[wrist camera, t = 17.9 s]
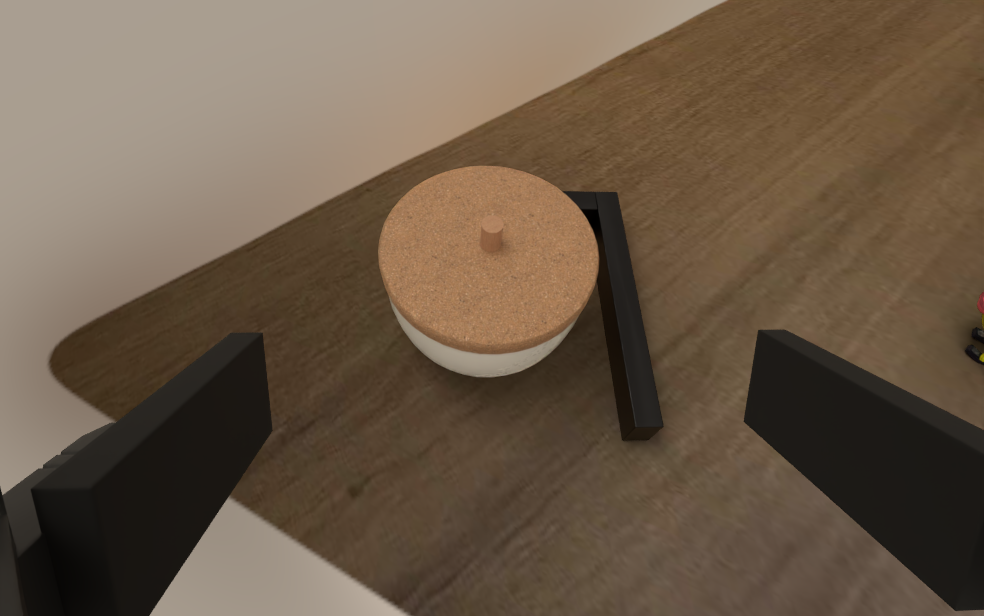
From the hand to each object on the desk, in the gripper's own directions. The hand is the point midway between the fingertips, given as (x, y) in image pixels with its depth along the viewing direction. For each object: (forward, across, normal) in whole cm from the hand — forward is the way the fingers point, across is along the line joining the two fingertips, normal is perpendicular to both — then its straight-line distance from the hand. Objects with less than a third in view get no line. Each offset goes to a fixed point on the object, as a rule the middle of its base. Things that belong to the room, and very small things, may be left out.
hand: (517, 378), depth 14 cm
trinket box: (+18, 0, -4) cm, 18 cm away
